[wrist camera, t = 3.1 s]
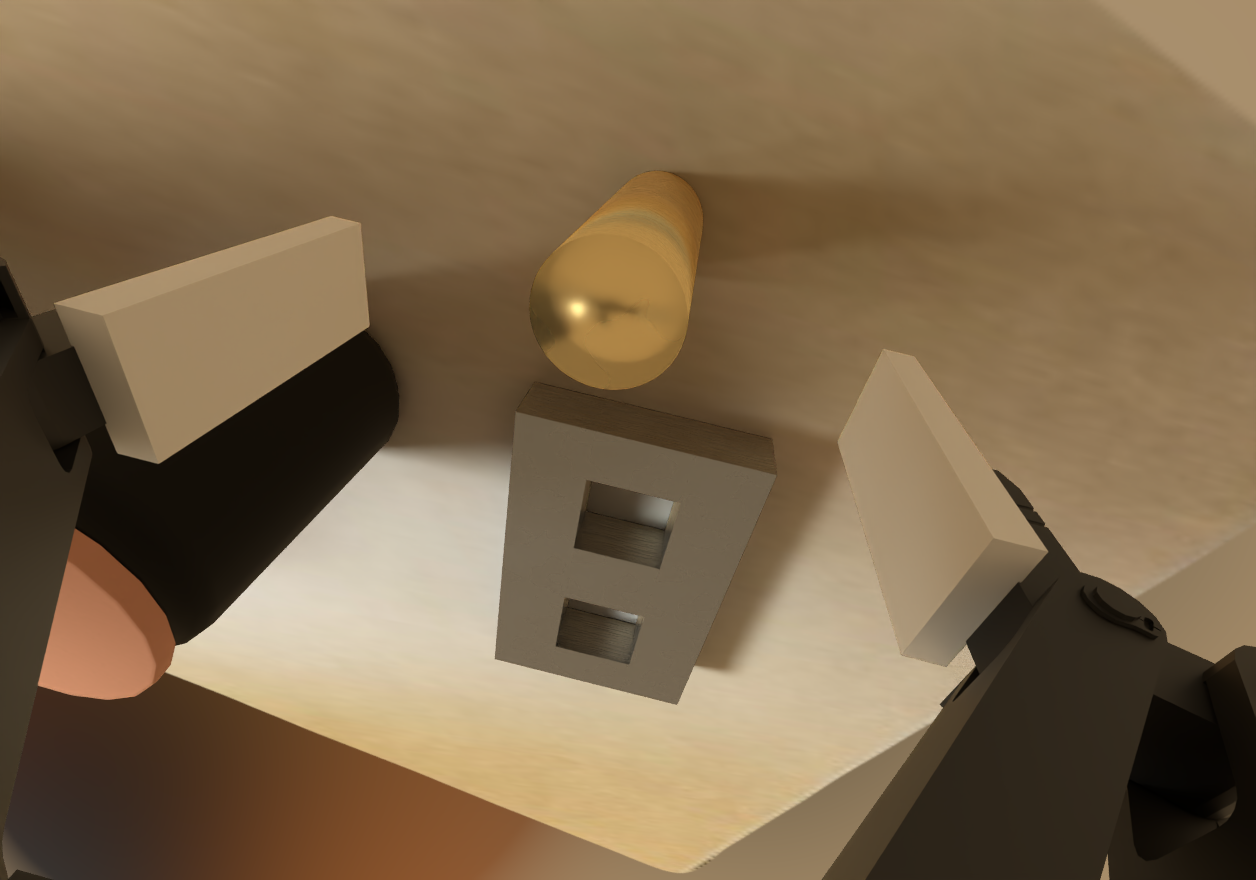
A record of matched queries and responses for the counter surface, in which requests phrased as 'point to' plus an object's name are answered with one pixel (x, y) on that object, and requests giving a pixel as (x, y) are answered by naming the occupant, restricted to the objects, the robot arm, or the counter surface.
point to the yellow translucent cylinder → (622, 285)
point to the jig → (622, 539)
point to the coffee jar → (207, 519)
